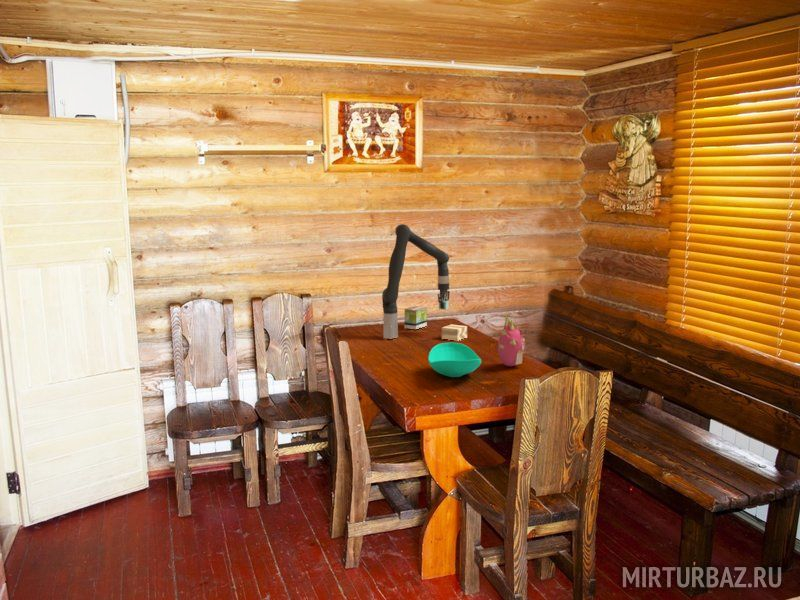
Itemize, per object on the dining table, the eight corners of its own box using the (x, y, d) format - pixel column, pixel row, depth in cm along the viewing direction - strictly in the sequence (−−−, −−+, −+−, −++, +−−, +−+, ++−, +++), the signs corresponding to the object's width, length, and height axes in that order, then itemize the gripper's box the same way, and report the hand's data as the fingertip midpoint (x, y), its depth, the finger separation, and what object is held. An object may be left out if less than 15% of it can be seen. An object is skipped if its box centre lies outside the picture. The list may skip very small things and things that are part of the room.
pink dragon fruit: (511, 371, 375) (512, 317, 370) (491, 367, 384) (491, 313, 379) (530, 364, 387) (530, 311, 382) (510, 360, 397) (510, 309, 391)
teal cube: (445, 309, 457) (445, 302, 456) (438, 309, 459) (438, 301, 458) (449, 308, 461) (448, 300, 460) (442, 307, 463) (442, 300, 463)
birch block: (457, 341, 446) (457, 329, 444) (441, 339, 453) (441, 327, 451) (467, 338, 455) (467, 326, 454) (451, 336, 462) (451, 324, 461)
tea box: (416, 331, 478) (416, 309, 476) (404, 329, 484) (403, 308, 481) (427, 326, 491) (427, 306, 488) (415, 325, 496) (414, 305, 494)
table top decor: (488, 385, 352) (488, 359, 350) (434, 387, 349) (433, 362, 347) (473, 364, 391) (472, 341, 388) (424, 366, 388) (423, 343, 386)
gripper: (444, 284, 449) (444, 310, 452) (453, 281, 461) (453, 306, 464) (433, 283, 453) (434, 309, 456) (442, 280, 465) (443, 305, 468)
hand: (443, 307), depth 460 cm, fingers closed on teal cube, 5 cm apart
